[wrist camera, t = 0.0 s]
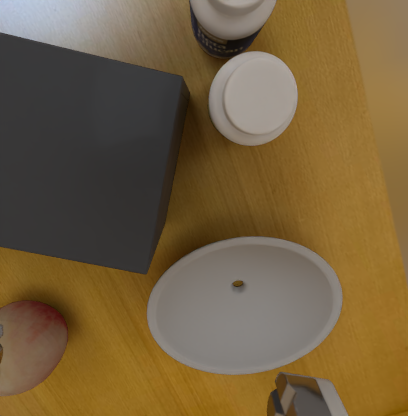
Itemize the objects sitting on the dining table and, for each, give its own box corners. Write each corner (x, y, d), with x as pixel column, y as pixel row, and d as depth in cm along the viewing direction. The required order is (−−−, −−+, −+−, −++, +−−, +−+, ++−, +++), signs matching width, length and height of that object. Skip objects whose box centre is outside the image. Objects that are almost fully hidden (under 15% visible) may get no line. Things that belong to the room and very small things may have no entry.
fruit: (34, 272, 30) (-23, 324, 22) (93, 318, 32) (59, 381, 24) (-9, 316, 32) (-77, 379, 24) (49, 358, 33) (3, 429, 26)
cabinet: (15, 194, 27) (-79, 232, 18) (19, 51, 24) (-96, 9, 15) (164, 224, 28) (146, 275, 19) (190, 92, 25) (182, 76, 16)
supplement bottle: (248, 57, 24) (279, 14, 14) (281, 114, 25) (331, 110, 16) (194, 97, 25) (188, 83, 15) (229, 150, 26) (245, 169, 17)
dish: (316, 203, 28) (339, 221, 23) (324, 324, 32) (345, 360, 27) (140, 233, 29) (128, 256, 24) (170, 347, 33) (165, 386, 28)
